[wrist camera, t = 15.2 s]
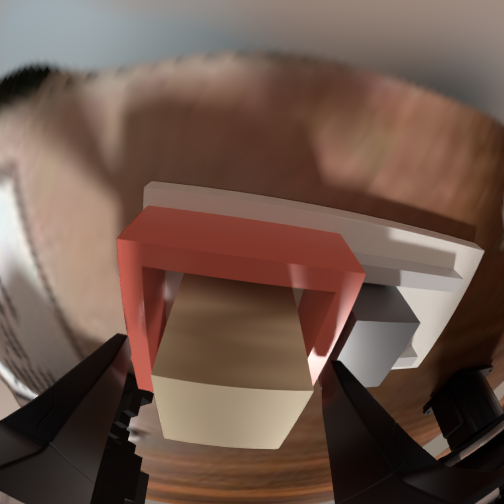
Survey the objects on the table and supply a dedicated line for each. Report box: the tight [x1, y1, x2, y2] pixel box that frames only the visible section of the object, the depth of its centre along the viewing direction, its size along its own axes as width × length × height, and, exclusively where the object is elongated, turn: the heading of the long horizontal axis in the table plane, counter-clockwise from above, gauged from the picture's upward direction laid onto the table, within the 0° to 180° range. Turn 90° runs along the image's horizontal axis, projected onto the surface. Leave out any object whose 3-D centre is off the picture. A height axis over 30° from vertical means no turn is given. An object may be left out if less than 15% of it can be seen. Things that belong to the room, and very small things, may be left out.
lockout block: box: [151, 273, 314, 449], centre depth 10 cm, size 4×4×6 cm
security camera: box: [90, 372, 154, 504], centre depth 15 cm, size 7×18×10 cm, turn 125°
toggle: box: [318, 282, 420, 388], centre depth 11 cm, size 3×4×3 cm
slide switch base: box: [117, 181, 484, 392], centre depth 12 cm, size 17×9×4 cm, turn 81°
